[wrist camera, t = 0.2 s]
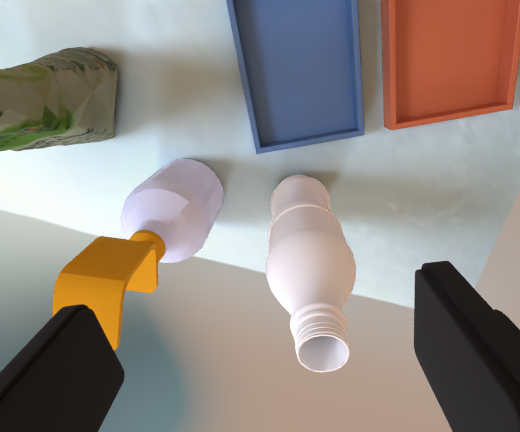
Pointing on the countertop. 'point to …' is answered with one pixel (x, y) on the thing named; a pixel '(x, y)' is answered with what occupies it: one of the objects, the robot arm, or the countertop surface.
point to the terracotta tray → (448, 59)
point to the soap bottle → (143, 242)
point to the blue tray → (299, 70)
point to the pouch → (58, 100)
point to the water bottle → (310, 271)
